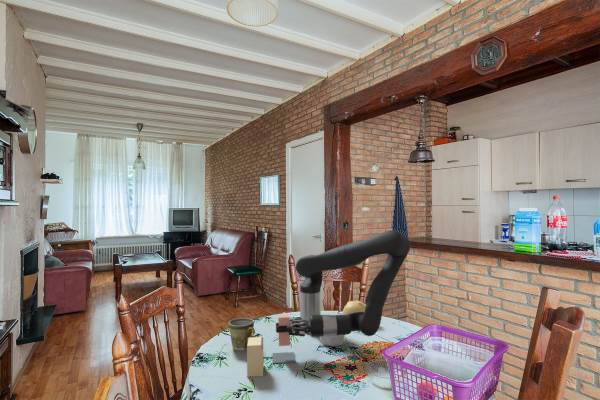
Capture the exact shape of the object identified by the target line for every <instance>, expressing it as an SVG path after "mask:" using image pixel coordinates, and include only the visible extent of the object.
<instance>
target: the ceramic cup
mask: <svg viewBox="0 0 600 400" xmlns="http://www.w3.org/2000/svg"><path fill="white" fill-rule="evenodd" d="M254 327H255V319H252V318H249V317H238V318H233V319H231V320H229V321H228V329H229V330H228V331H229V334H230V340H231V341H230V342H231V346H232V349H233V350H234V349H235V351H237V350H244V351H247V350H246V349H247V344H248V338H252V337H254V335H255V334H256V330H255V328H254Z"/></svg>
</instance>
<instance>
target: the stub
mask: <svg viewBox="0 0 600 400" xmlns="http://www.w3.org/2000/svg"><path fill="white" fill-rule="evenodd" d="M290 320H291V317H290V314H279V315H278V320H277V321H278V323H279V326H286V327H287V325H290ZM278 346H279V347H286V346H287V347H289V346H291V335H289V333H287V332H283V333H278Z"/></svg>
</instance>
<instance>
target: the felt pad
mask: <svg viewBox="0 0 600 400" xmlns="http://www.w3.org/2000/svg"><path fill="white" fill-rule="evenodd" d="M275 364H276V365H277V364H296V357H295V352H294V351H291V352H289V351H287V352H272V365H275Z"/></svg>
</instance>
